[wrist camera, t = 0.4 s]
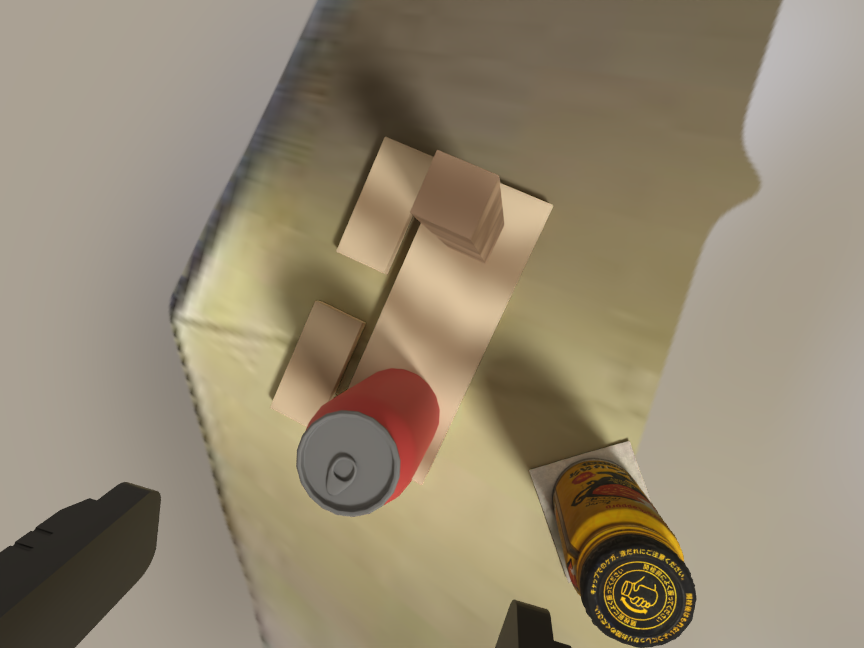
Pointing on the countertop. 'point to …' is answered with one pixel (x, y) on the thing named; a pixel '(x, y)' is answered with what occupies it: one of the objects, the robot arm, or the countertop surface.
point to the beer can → (368, 442)
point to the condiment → (616, 546)
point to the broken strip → (370, 245)
